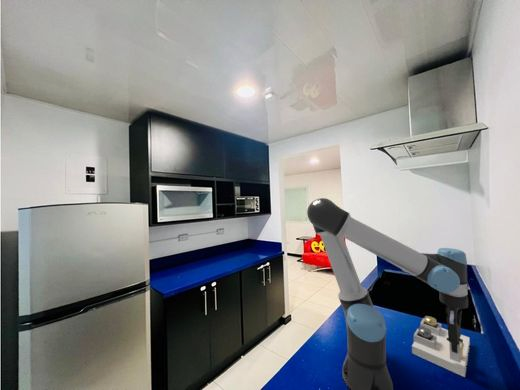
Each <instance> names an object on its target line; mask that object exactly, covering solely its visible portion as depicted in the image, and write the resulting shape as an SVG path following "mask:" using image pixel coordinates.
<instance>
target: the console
mask: <svg viewBox="0 0 520 390" xmlns="http://www.w3.org/2000/svg"><path fill="white" fill-rule="evenodd" d="M419 327H425V328H428V329H429V330H431V340H428V339H425V338H422V337H420V336H419V328H416V331H415V332H414V334H413V343H412V345H411V353H412V355H415V356H418V357H420V358H421V359H424V360H426V361H427V362H431V363H433V364H434V365H437V366H438V367H442V368H443V369H446V370H448V371H450V372H452V373H454V374H457V375H459V376H461V377H464V378H466V373H467V367H466V366H468V361H469V354H468V353H470V347H469V346H471V340H470V337H469V336H467V335H464V334H461V333H460V335H461V337H460V339H463V342H461V341H459V342H460V343H462V351H463V355H462V359H461V363H459V362H457V361H454V360H452V359H450V346H449V341H448V340H447V338H448V329H446V328H443V327H442V323H439V322H437V327H436V328H434V327H431V326H429V325H426V324H425V317H423V318H422V319H421V321H420V325H419Z"/></svg>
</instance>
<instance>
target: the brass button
mask: <svg viewBox="0 0 520 390" xmlns="http://www.w3.org/2000/svg"><path fill="white" fill-rule="evenodd" d="M424 318H425V324H426V325H429V326H431V327H434V328H436V327H437V323H438V322H437V319H436V318H435V317H432V316H429V315H425V316H424Z"/></svg>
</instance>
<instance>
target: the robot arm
mask: <svg viewBox="0 0 520 390" xmlns="http://www.w3.org/2000/svg"><path fill="white" fill-rule="evenodd" d="M306 215H307V218H308V221H309V222H310V223H311V225H312V227H313V229H314V232H315V234H316V235H318V236H320V239H321V241H322V244H323V247H324V249H325V253H326V255H327V257H328V261H329V264H330V266H331V269H332V272H333V274H334V277H335V280H336V282H337V286H338V288H339V293H338V295H337V297H338V299H339V302H340V305H341V307H342V310H343V314H344V318H345V319H344V320H345V324H346V325H345V327H346V335H347V336H346V337H347V340H346V341H347V343H346V344H347V346H346V347H347V354H346V356H345V359H344V361H343V363H342V364H343V365H342V368H341V369H342V380H343V379H344V380H343V382H344V381H345V382H344V384H345V383H346V384H345V385H346V387H347V386H348V387H349V388H350V389H351V390H394V385H393V381H392V378H391V375H390V373H389V370H388V365H387V345H386V343H387V341H386V339H387V338H386V335H387V334H386V333H387V327H386V320H385V318H384V316H383V314H382V313H381V312H380V311H379V310H378V309H375V307H374V305H373V302H372V299H371V297H370V296H371V295H370V294H369V292H368V290H367V289H368V288H366V287H364V286H362V284H361V282H360V281H361V280H360V278H359V276H358V273H357V270H356V267H355V266H354V262H353V260H352V257H351V254H350V252H349V250H348V249H349V248H348V246H347V244H346V241H345V239H346V240H348V241H350V242H351V243H354V244H355V245H357V246H358V247H360V248H362V249H364V250H366V251H368V252H370V253H371V254H372V255H376V257H379V258H381V259H383V260H385V261H386V262H388V263H390V264H392V265H393V266H395V267H397V268H399V269H401V270H402V272H403V273H407V274H410V275H412V276H414V277H415V278H417V279H419V280H421V281H422V282H424V283H426V284H427V285H429V286H430V287H431V288H432V289H434V290H437V291H438V292H439V293H438V294H439V296H438V297H439V301H440V302H441V303H442V304H444V305H446V307H445V314H446V318H445V319H446V322H447V323H446V324H447V325H446V326H447V330H448V338H447V340H448V341H449V346H450V359H452V360H454V361H457V362H459V363H461V350H460V342H459V341H461V342H463V339H460V337H461V335H462V334H461V322H462V314H463V309H467V308H469V297H468V294H469V293H468V290H471V288H470V286H468V271H467V270H468V262H467V261H468V260H467V255H466V253H465V252H464V251H463V250H461V249H456V248H451V247H450V248H449V247H443V248H442V247H440V248H438V249H437V252H436V253H426V252H425V253H424V252H419V251H417V250H416V249H413V248H411V247H410V246H407V245H405V244H403V243H402V242H399V241H398V240H396V239H394V238H392V237H390V236H388V235H387V234H384V233H382V232H381V231H378V230H377V229H375V228H373V227H371V226H369V225H368V224H365V223H364V222H361V221H359V220H357V219H355V218H353V217H352V215H351V214H350V212H348V211H346V210H344V209H342V208H341V207H339V206H338V205H337V204H335V202H333V201H332V200H331V199H329V198H326V197H325V198H323V197H321V198H320V197H319V198H317V199H314V200H313V201H311V203H309V205H308V207H307V212H306ZM460 334H461V335H460ZM348 387H347V388H348ZM349 388H348V389H349ZM350 389H349V390H350Z"/></svg>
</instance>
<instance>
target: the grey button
mask: <svg viewBox="0 0 520 390" xmlns="http://www.w3.org/2000/svg"><path fill="white" fill-rule="evenodd" d="M418 329H419V336H420V337H422V338H425V339H428V340H431V330H429V329H428V328H425V327H420V326H419V327H418Z"/></svg>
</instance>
